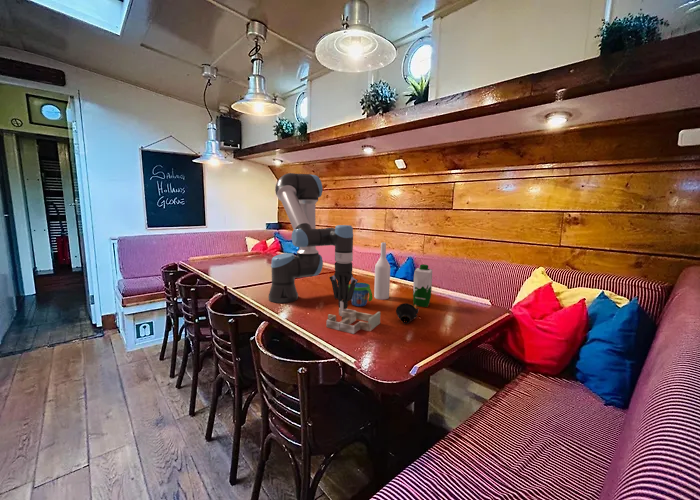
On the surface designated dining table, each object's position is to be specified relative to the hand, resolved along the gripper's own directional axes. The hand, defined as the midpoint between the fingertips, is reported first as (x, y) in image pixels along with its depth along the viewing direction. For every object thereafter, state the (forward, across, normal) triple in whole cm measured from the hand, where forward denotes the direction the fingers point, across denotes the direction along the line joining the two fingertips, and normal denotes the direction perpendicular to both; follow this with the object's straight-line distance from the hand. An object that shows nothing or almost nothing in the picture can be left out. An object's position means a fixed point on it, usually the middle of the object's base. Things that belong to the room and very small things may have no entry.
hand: (342, 315), depth 134 cm
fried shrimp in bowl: (+3, +24, +17) cm, 30 cm away
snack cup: (+2, -4, +22) cm, 23 cm away
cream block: (+2, +3, 0) cm, 4 cm away
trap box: (+2, +5, -3) cm, 6 cm away
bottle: (+2, +1, +39) cm, 39 cm away
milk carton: (+2, +23, +39) cm, 46 cm away
